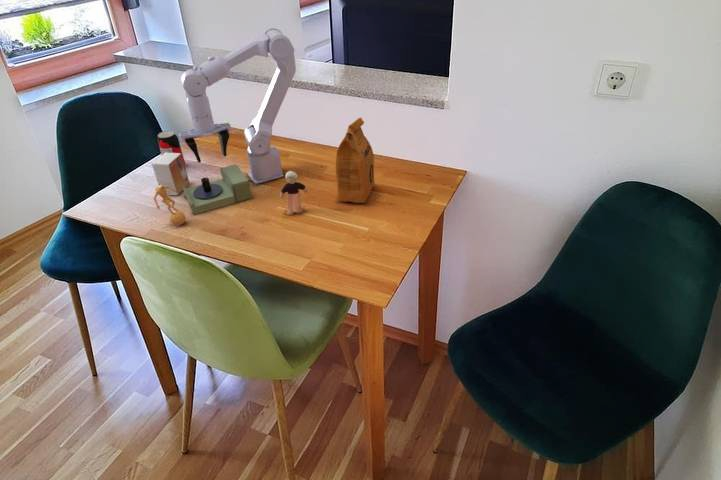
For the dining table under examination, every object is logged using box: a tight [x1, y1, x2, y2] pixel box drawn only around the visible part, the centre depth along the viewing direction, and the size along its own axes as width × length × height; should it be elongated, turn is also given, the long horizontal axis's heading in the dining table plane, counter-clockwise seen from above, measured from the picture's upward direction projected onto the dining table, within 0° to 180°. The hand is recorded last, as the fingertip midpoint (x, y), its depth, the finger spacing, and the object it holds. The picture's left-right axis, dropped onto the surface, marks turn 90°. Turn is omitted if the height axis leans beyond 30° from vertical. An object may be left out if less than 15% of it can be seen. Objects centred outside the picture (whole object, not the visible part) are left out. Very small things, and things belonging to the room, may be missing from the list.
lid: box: [193, 177, 223, 200], centre depth 140 cm, size 8×8×4 cm
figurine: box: [153, 185, 186, 226], centre depth 129 cm, size 8×6×12 cm
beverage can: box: [157, 130, 186, 165], centre depth 157 cm, size 6×6×12 cm
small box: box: [151, 153, 190, 196], centre depth 145 cm, size 8×6×10 cm
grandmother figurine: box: [279, 170, 308, 216], centre depth 132 cm, size 8×4×13 cm, turn 117°
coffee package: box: [335, 117, 375, 204], centre depth 135 cm, size 10×12×22 cm
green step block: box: [182, 163, 253, 215], centre depth 142 cm, size 17×12×6 cm
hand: (211, 158), depth 144 cm, fingers open, 7 cm apart
